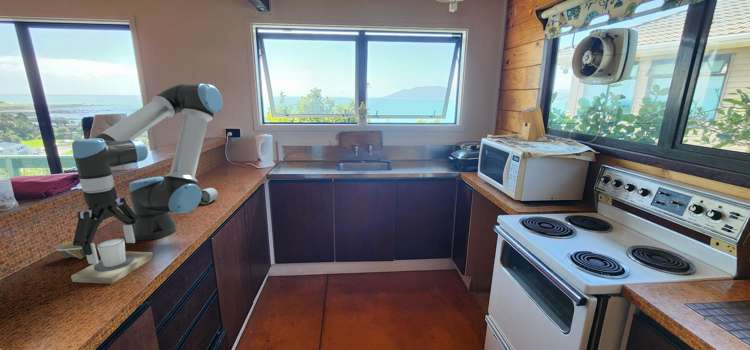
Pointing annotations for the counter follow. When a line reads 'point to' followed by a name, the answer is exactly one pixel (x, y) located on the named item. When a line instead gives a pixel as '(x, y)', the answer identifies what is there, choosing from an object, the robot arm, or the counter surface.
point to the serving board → (112, 269)
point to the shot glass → (112, 252)
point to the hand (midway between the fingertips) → (113, 252)
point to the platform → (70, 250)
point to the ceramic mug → (208, 195)
